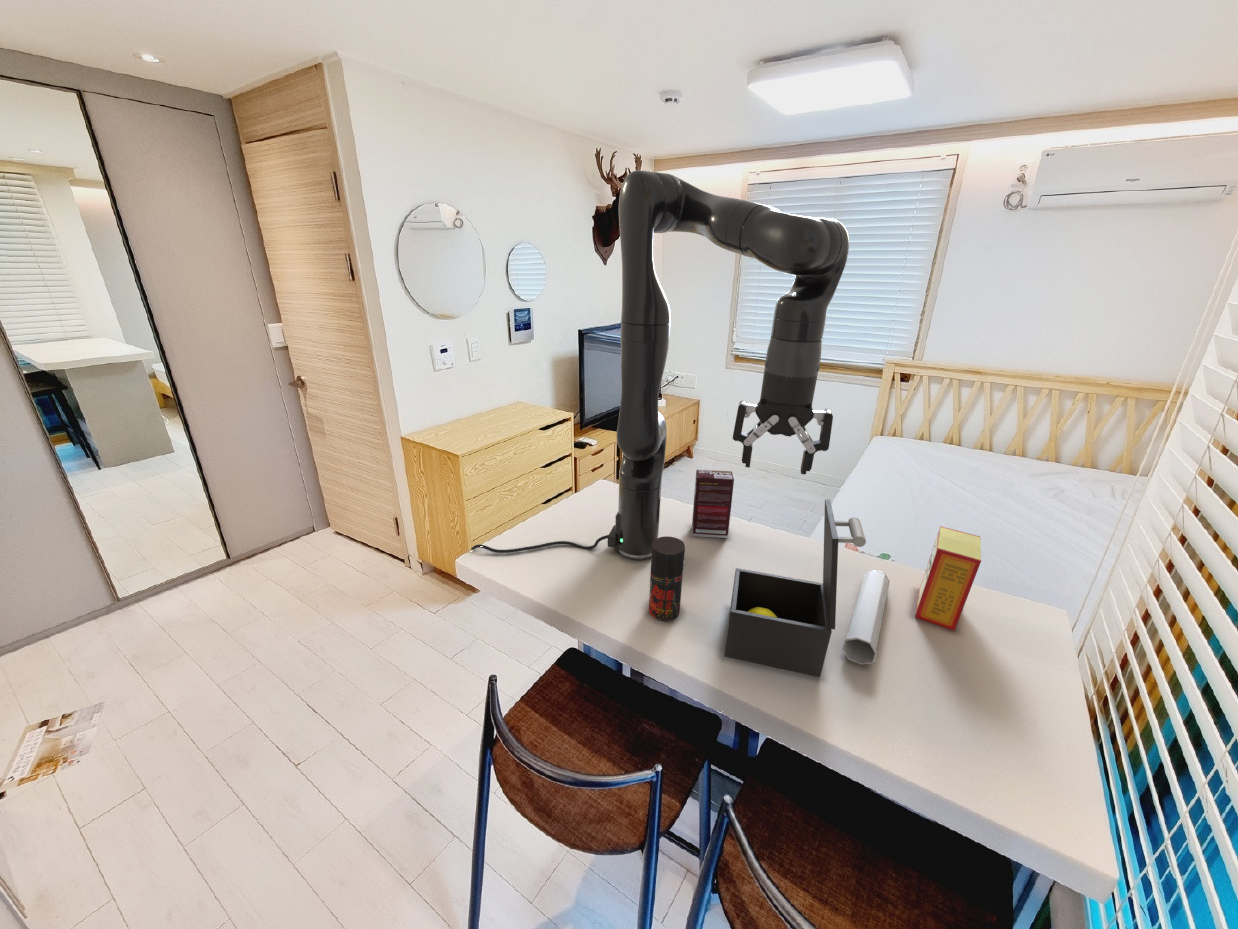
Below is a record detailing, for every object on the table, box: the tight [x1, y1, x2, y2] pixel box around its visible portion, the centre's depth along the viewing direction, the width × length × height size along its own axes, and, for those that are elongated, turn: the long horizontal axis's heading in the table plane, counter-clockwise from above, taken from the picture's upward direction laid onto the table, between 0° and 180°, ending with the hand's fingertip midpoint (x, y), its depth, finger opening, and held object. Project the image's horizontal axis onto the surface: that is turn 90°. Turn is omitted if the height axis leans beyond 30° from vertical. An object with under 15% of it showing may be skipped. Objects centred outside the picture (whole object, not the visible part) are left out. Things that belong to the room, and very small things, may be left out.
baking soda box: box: [914, 525, 982, 632], centre depth 95 cm, size 10×6×16 cm
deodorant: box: [648, 535, 686, 623], centre depth 93 cm, size 6×6×15 cm
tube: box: [842, 569, 890, 665], centre depth 94 cm, size 5×5×25 cm
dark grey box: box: [724, 567, 833, 678], centre depth 88 cm, size 16×13×10 cm
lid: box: [822, 498, 867, 630], centre depth 80 cm, size 16×13×5 cm
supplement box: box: [691, 469, 735, 539], centre depth 119 cm, size 9×5×16 cm, turn 84°
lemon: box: [748, 607, 777, 618], centre depth 89 cm, size 7×5×5 cm
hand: (774, 468), depth 80 cm, fingers open, 8 cm apart
